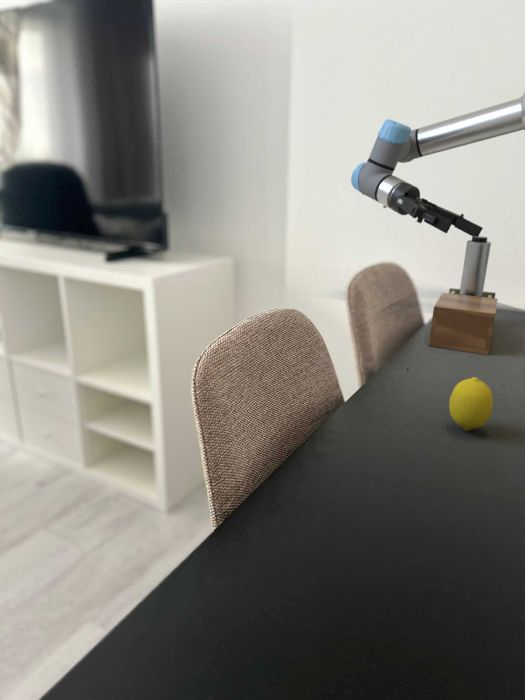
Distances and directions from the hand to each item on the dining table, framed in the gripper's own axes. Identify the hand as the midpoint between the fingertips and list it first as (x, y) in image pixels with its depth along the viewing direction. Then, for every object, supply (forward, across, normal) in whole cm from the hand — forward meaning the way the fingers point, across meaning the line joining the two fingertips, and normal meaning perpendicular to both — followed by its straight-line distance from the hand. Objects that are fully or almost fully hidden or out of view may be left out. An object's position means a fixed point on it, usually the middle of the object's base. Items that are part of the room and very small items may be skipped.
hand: (464, 230), depth 119 cm
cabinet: (+17, +9, -19) cm, 27 cm away
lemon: (+41, +46, -17) cm, 64 cm away
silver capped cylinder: (+11, -1, -17) cm, 21 cm away
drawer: (+11, -1, -18) cm, 22 cm away
